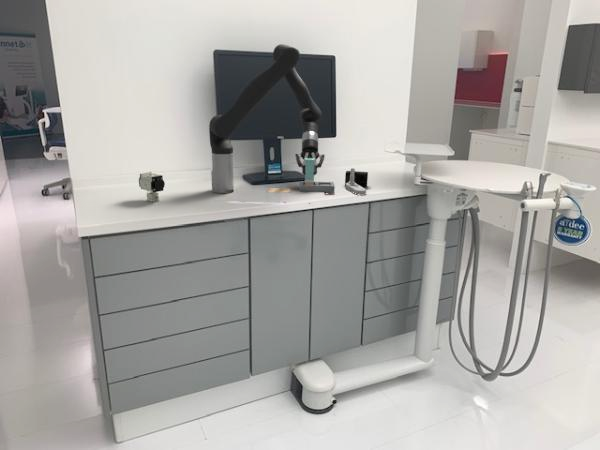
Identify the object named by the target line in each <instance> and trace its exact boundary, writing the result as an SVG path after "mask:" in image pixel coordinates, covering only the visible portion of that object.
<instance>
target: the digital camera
mask: <svg viewBox="0 0 600 450" xmlns="http://www.w3.org/2000/svg"><path fill="white" fill-rule="evenodd" d="M350 173H351V170H346V171H345V179H344V187H346V183H348V182H349V181H350ZM368 178H369V171H356V170H355V171H354V182H355V183H356V184H358V185H360V186H361V187H366V188H367V187H368Z"/></svg>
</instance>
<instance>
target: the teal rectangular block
mask: <svg viewBox="0 0 600 450" xmlns="http://www.w3.org/2000/svg"><path fill="white" fill-rule="evenodd" d="M304 181H305V184H314V182H315V175H314V158H305V175H304Z"/></svg>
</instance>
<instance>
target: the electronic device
mask: <svg viewBox="0 0 600 450" xmlns="http://www.w3.org/2000/svg"><path fill="white" fill-rule="evenodd" d="M350 171H351V173H350V181H349V182H348V183H346V186H345V189H346V190H347V191H349V190H350V191H349V192H351V191H352V192H354V193H356V194H365V193H366V194H367V188H363V187H361V186H360V185H358V184H356V183H355V182H354V171H356V170H355V168H350ZM352 192H351V193H352ZM354 193H353V194H354ZM356 194H355V195H356ZM366 194H365V195H366Z"/></svg>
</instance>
